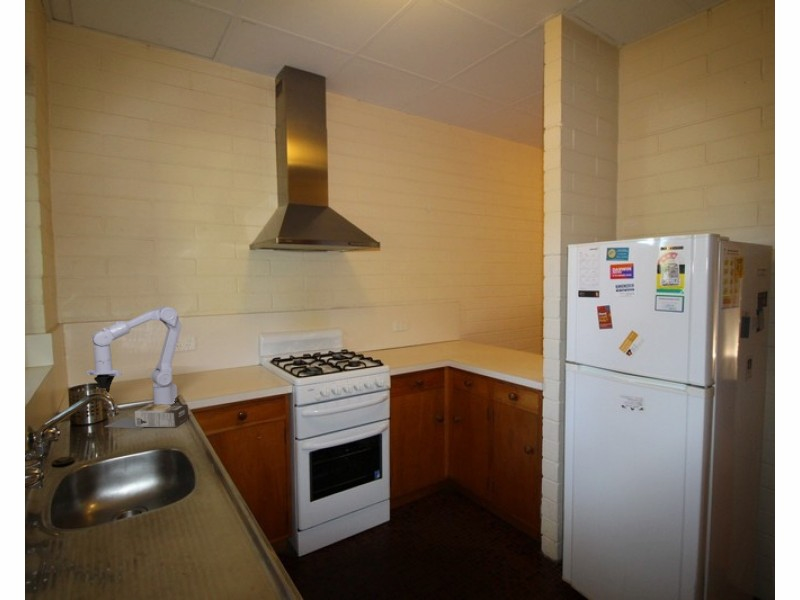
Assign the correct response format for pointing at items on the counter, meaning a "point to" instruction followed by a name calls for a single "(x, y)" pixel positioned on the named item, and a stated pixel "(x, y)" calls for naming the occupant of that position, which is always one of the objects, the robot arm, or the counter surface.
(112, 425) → the mat
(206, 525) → the counter surface
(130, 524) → the counter surface
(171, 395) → the robot arm
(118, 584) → the counter surface
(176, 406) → the coffee box
